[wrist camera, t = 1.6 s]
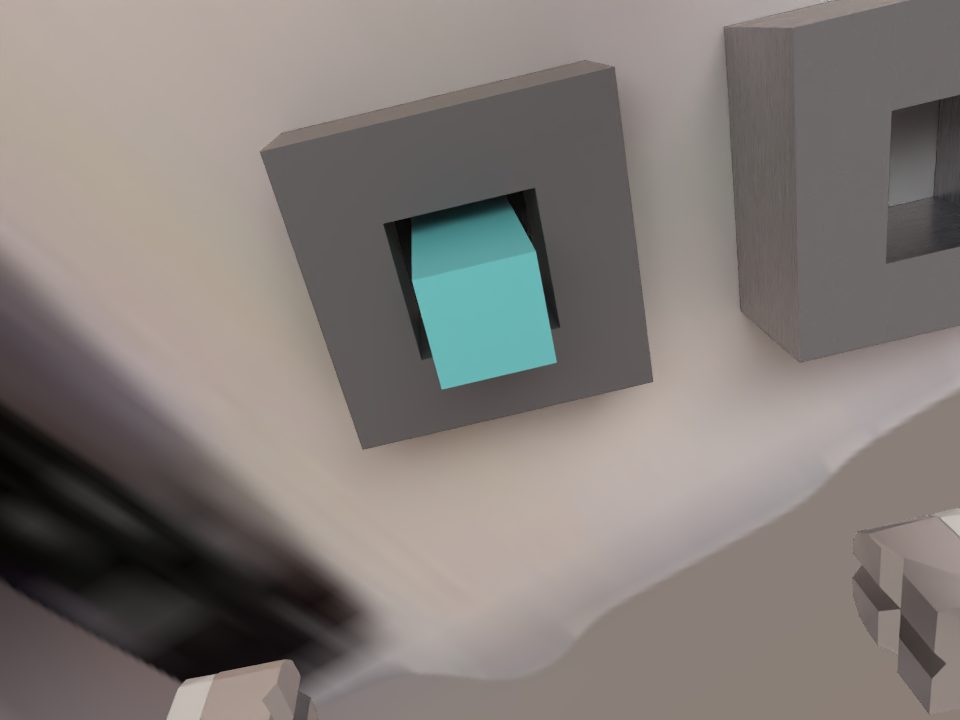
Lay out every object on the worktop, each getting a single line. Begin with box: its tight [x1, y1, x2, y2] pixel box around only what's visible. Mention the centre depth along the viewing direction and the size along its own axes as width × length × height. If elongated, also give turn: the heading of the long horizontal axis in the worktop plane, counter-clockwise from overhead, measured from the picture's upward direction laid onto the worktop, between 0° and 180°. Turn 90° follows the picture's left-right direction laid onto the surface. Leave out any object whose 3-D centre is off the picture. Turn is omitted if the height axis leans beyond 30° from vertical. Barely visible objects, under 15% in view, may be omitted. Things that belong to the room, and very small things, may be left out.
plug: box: [412, 195, 557, 389], centre depth 24 cm, size 4×4×8 cm
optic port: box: [724, 0, 960, 362], centre depth 25 cm, size 11×11×5 cm
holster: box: [260, 60, 653, 449], centre depth 26 cm, size 11×11×4 cm
